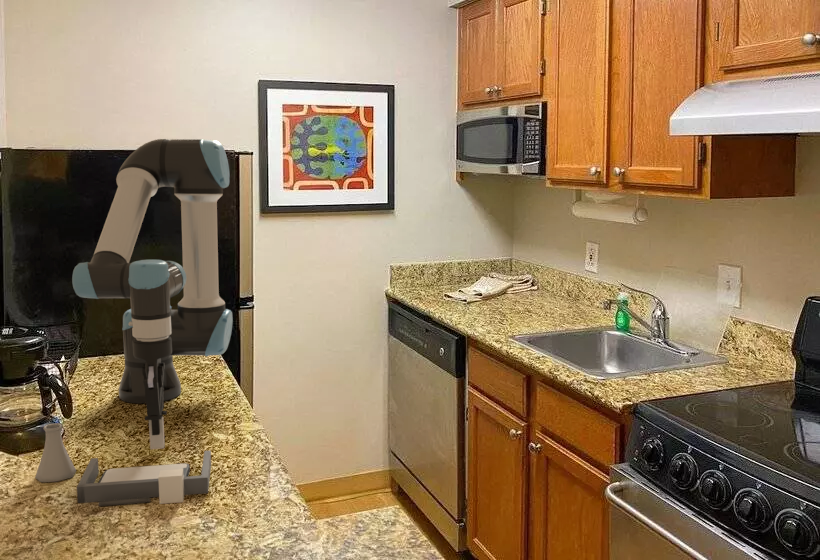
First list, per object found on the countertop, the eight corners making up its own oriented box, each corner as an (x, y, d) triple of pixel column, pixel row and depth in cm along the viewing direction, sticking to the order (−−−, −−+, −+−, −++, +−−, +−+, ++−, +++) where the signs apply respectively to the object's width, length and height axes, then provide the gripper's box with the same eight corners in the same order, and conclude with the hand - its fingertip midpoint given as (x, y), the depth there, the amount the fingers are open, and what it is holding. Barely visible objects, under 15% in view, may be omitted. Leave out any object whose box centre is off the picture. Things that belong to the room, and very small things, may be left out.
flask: (35, 486, 143) (32, 435, 141) (34, 472, 149) (31, 422, 148) (78, 479, 146) (74, 429, 145) (74, 465, 152) (71, 417, 151)
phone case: (95, 495, 141) (185, 488, 143) (94, 487, 140) (185, 480, 143) (106, 476, 149) (190, 469, 152) (105, 468, 149) (190, 462, 152)
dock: (92, 473, 149) (90, 448, 148) (211, 464, 153) (210, 440, 153) (74, 510, 133) (72, 483, 132) (207, 500, 138) (206, 473, 137)
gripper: (136, 330, 160) (142, 437, 165) (127, 345, 148) (134, 461, 152) (174, 328, 162) (178, 434, 166) (168, 344, 149) (173, 458, 154)
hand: (157, 447), depth 159 cm, fingers closed
